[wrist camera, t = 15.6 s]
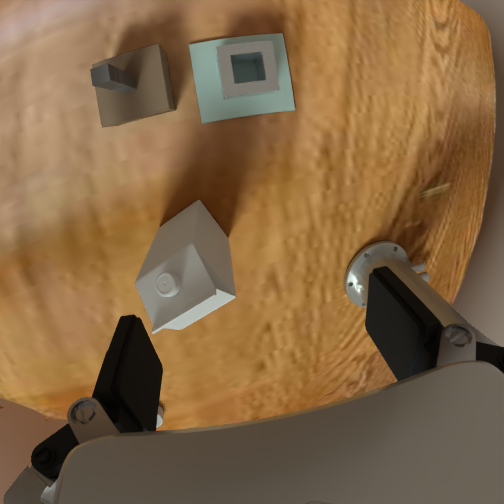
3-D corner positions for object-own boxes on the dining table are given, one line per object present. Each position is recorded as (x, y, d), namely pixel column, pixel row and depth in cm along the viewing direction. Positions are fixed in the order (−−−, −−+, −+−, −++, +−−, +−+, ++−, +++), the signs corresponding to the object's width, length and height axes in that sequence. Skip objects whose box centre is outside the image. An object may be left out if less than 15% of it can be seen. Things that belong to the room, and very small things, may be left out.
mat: (281, 34, 31) (282, 33, 31) (293, 110, 36) (295, 110, 35) (189, 45, 31) (188, 44, 30) (202, 123, 35) (202, 123, 35)
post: (166, 54, 31) (139, 19, 17) (175, 110, 34) (152, 104, 21) (108, 71, 30) (55, 51, 17) (118, 125, 34) (67, 132, 20)
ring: (263, 51, 32) (272, 40, 26) (270, 94, 34) (279, 90, 29) (216, 57, 31) (216, 46, 26) (222, 100, 34) (224, 96, 29)
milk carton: (229, 238, 43) (240, 322, 25) (189, 264, 44) (177, 356, 26) (199, 198, 40) (188, 262, 23) (158, 227, 41) (124, 306, 23)
